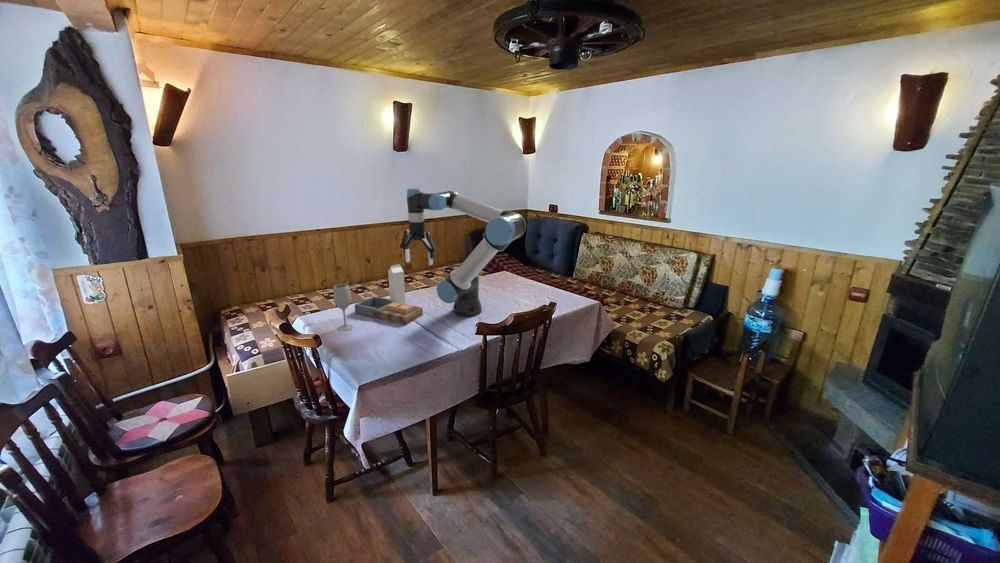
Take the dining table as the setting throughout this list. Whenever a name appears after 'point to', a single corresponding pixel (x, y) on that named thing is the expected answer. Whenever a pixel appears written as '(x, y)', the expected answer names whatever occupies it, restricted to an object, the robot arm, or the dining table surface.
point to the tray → (371, 306)
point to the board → (399, 315)
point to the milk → (396, 284)
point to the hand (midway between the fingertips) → (419, 263)
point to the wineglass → (342, 302)
